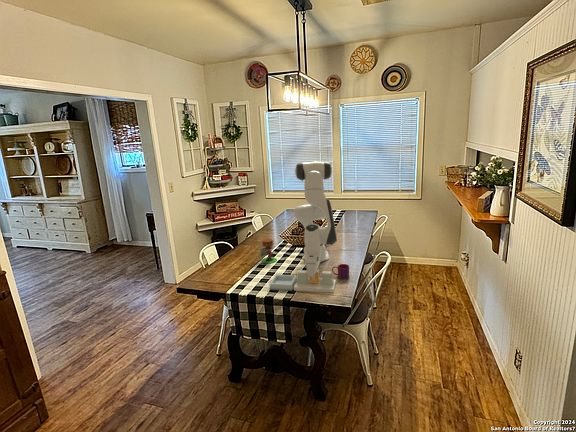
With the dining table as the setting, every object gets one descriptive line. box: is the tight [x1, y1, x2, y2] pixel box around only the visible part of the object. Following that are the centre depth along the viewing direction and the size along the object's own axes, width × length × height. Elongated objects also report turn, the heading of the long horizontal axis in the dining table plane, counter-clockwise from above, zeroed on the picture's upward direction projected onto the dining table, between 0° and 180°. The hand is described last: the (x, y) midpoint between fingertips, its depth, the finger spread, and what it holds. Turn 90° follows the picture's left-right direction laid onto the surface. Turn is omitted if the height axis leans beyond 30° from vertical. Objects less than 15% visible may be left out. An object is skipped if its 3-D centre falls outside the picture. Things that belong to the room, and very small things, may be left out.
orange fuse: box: [310, 268, 321, 283], centre depth 181 cm, size 3×5×7 cm, turn 76°
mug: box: [331, 263, 350, 280], centre depth 192 cm, size 7×10×7 cm
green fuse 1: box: [297, 269, 308, 284], centre depth 183 cm, size 3×5×7 cm, turn 76°
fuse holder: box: [293, 276, 337, 293], centre depth 182 cm, size 12×22×5 cm, turn 76°
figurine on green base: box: [259, 238, 278, 264], centre depth 225 cm, size 12×13×15 cm
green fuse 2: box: [321, 270, 333, 285], centre depth 179 cm, size 3×5×7 cm, turn 76°
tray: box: [269, 274, 298, 292], centre depth 187 cm, size 13×13×4 cm
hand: (314, 277), depth 181 cm, fingers closed on orange fuse, 3 cm apart
